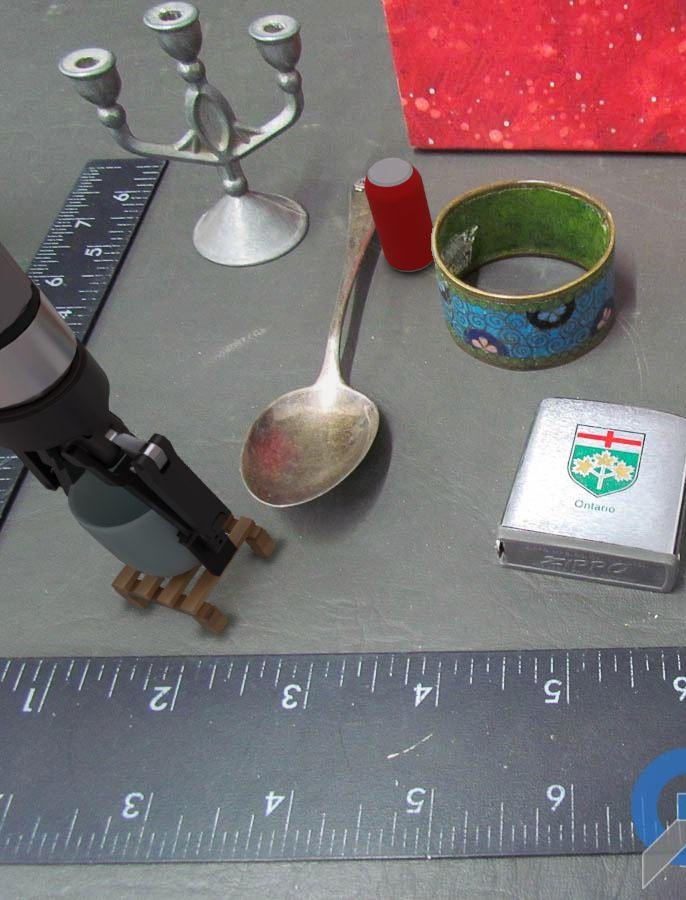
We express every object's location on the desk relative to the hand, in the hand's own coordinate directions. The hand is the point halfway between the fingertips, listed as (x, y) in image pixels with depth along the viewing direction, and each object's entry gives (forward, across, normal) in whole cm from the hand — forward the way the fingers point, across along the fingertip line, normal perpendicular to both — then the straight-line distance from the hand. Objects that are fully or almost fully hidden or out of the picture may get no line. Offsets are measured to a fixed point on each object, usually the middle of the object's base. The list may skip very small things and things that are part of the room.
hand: (180, 547), depth 68 cm
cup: (0, 0, 0) cm, 0 cm away
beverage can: (+5, 0, +43) cm, 43 cm away
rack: (+5, 0, 0) cm, 5 cm away
